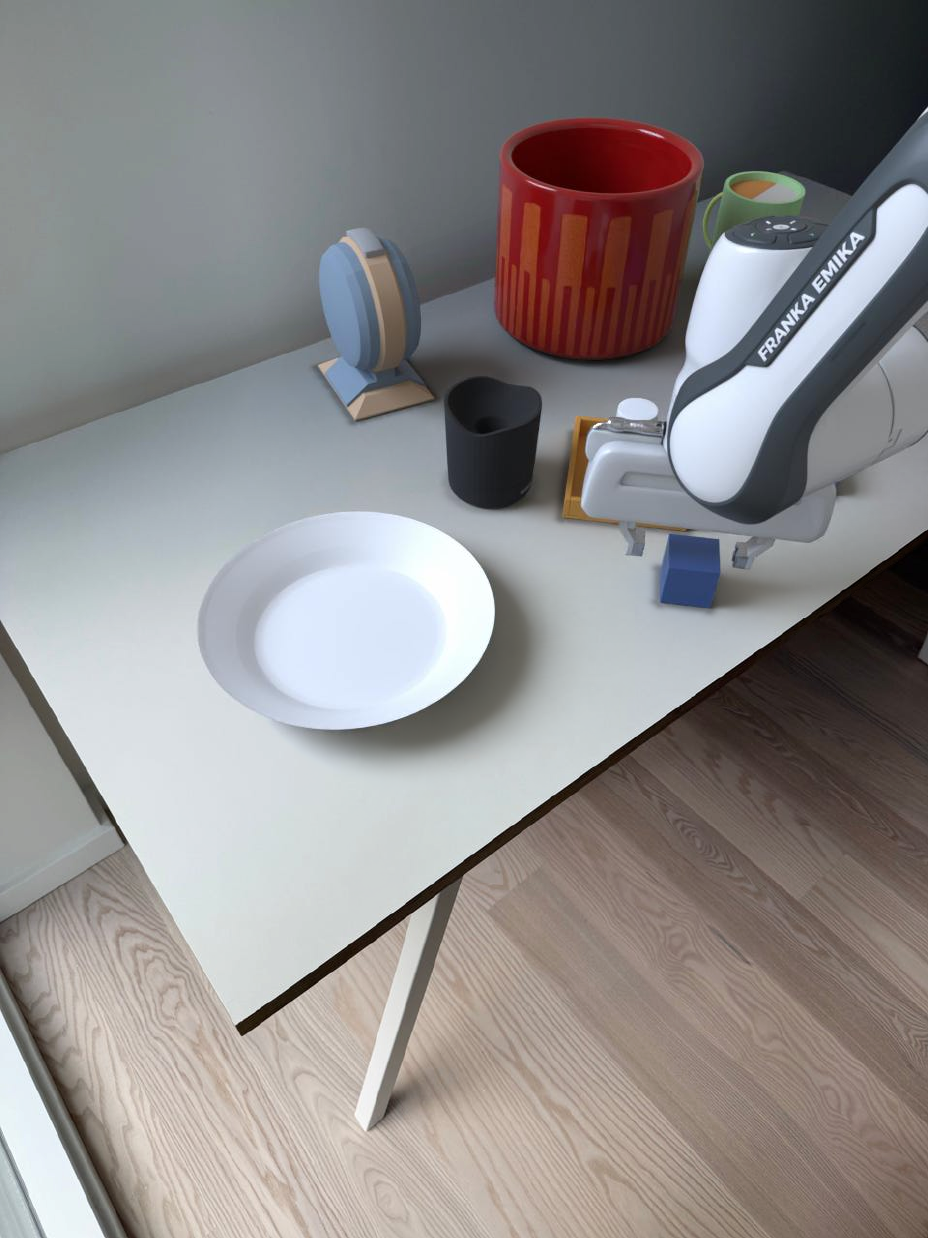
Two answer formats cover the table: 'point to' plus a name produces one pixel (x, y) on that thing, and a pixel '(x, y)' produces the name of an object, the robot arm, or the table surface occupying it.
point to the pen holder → (491, 440)
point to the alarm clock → (371, 324)
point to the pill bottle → (638, 409)
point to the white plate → (345, 620)
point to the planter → (593, 235)
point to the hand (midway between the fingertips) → (686, 557)
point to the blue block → (690, 570)
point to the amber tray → (578, 473)
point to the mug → (753, 200)
